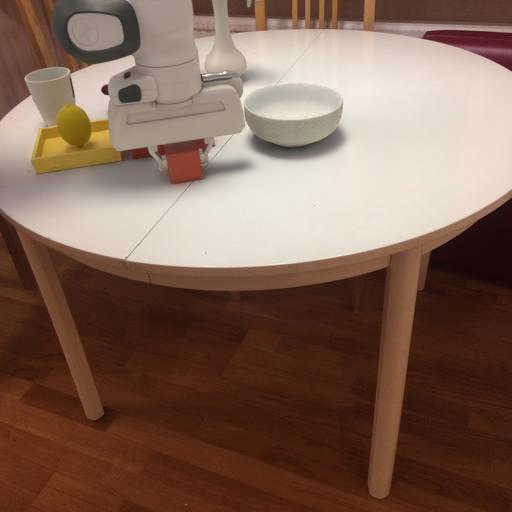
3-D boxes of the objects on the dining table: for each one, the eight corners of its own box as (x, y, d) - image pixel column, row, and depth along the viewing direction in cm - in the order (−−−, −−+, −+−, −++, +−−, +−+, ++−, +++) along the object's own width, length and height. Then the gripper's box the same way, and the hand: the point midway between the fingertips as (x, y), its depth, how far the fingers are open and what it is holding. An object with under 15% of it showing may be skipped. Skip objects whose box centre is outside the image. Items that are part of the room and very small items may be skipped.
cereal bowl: (328, 165, 83) (329, 123, 79) (231, 154, 88) (227, 114, 84) (350, 122, 96) (353, 84, 91) (265, 115, 101) (263, 78, 97)
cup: (89, 126, 102) (75, 74, 96) (48, 138, 98) (31, 85, 92) (75, 113, 107) (61, 64, 101) (36, 124, 104) (19, 74, 98)
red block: (171, 184, 81) (166, 155, 78) (168, 169, 85) (163, 141, 82) (203, 179, 82) (199, 150, 79) (198, 164, 86) (194, 136, 83)
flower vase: (258, 93, 110) (250, -42, 95) (180, 86, 116) (161, -42, 101) (278, 72, 120) (274, -53, 104) (206, 67, 126) (192, -53, 110)
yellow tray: (35, 174, 87) (30, 159, 85) (43, 141, 97) (38, 128, 96) (121, 160, 89) (118, 146, 87) (120, 130, 99) (117, 116, 98)
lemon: (70, 141, 95) (57, 98, 90) (99, 140, 95) (88, 96, 90) (60, 155, 91) (46, 110, 86) (91, 154, 90) (79, 109, 86)
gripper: (237, 62, 78) (244, 147, 87) (98, 80, 75) (119, 166, 84) (246, 75, 73) (252, 164, 82) (97, 95, 71) (119, 185, 79)
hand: (183, 165), depth 83 cm, fingers closed on red block, 5 cm apart
